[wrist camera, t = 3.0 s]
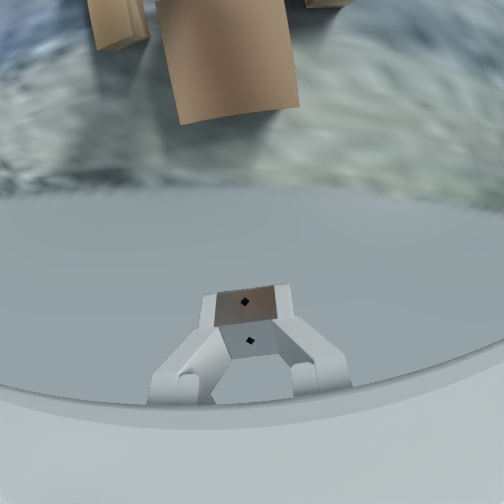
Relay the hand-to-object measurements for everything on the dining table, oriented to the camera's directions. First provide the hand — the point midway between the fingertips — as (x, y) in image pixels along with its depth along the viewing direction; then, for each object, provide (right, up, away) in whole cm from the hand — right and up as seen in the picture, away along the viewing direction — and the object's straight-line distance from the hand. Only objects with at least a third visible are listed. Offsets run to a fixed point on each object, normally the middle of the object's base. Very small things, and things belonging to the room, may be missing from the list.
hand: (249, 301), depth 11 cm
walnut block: (-1, +14, +5) cm, 15 cm away
